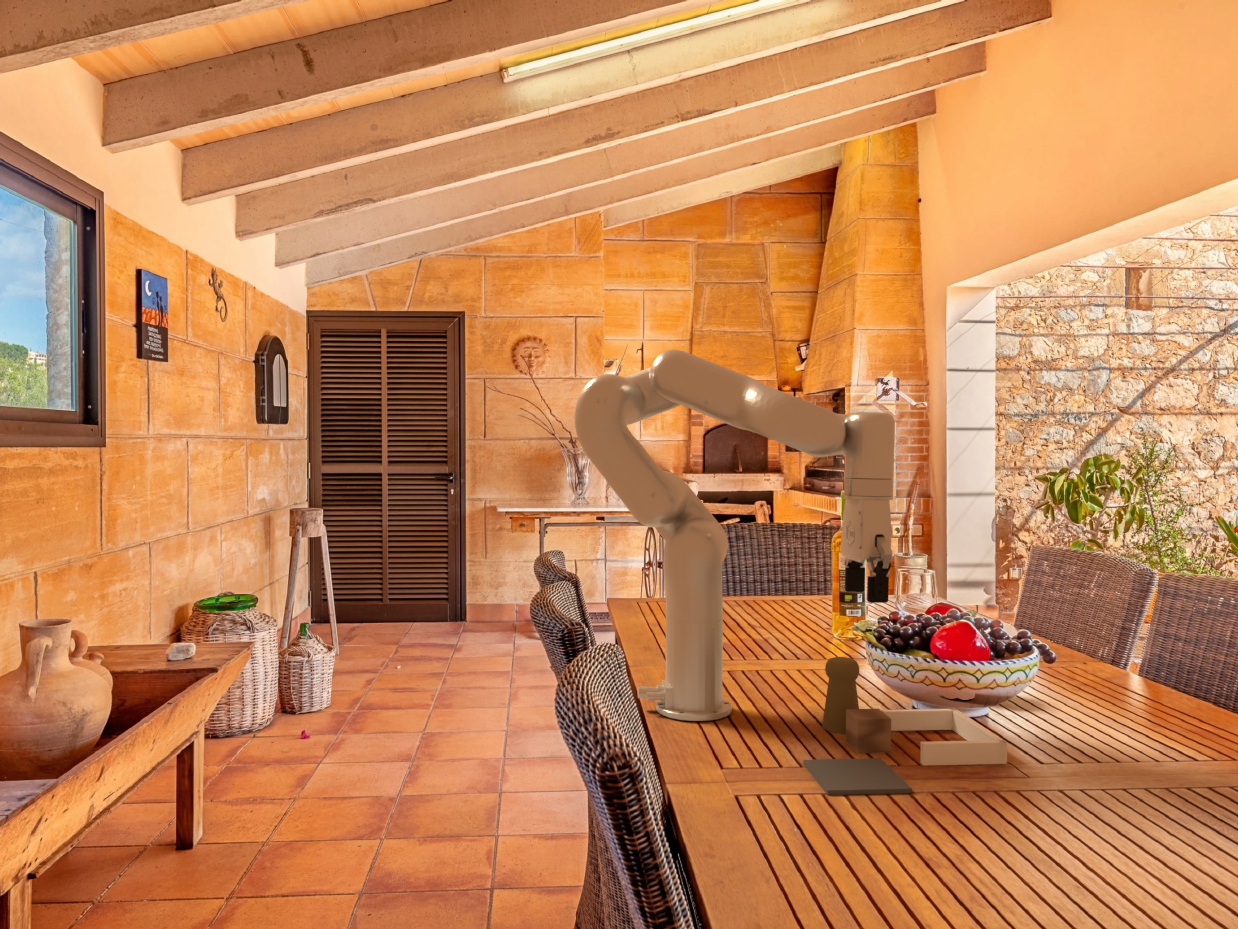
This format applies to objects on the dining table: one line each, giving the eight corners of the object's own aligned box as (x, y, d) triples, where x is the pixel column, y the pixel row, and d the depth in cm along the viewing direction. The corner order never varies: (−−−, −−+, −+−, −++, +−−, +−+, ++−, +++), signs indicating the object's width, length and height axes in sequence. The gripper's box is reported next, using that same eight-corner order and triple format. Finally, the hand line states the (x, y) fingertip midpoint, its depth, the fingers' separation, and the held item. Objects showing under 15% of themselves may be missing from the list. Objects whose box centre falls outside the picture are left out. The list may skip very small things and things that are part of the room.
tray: (923, 765, 122) (923, 744, 122) (881, 729, 138) (881, 709, 138) (1006, 763, 123) (1007, 742, 123) (955, 727, 139) (955, 708, 139)
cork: (862, 735, 135) (863, 663, 135) (822, 732, 137) (823, 661, 136) (860, 723, 141) (860, 654, 141) (821, 720, 143) (822, 652, 142)
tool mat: (827, 795, 112) (827, 790, 112) (803, 764, 123) (803, 759, 123) (912, 793, 113) (912, 788, 113) (880, 762, 124) (880, 758, 124)
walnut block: (857, 753, 127) (857, 719, 127) (845, 742, 132) (846, 709, 132) (890, 753, 128) (891, 718, 128) (878, 741, 133) (878, 708, 133)
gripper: (827, 486, 149) (825, 587, 149) (866, 492, 132) (863, 606, 132) (870, 487, 150) (867, 588, 150) (914, 493, 132) (911, 607, 133)
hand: (865, 596), depth 141 cm, fingers open, 9 cm apart
